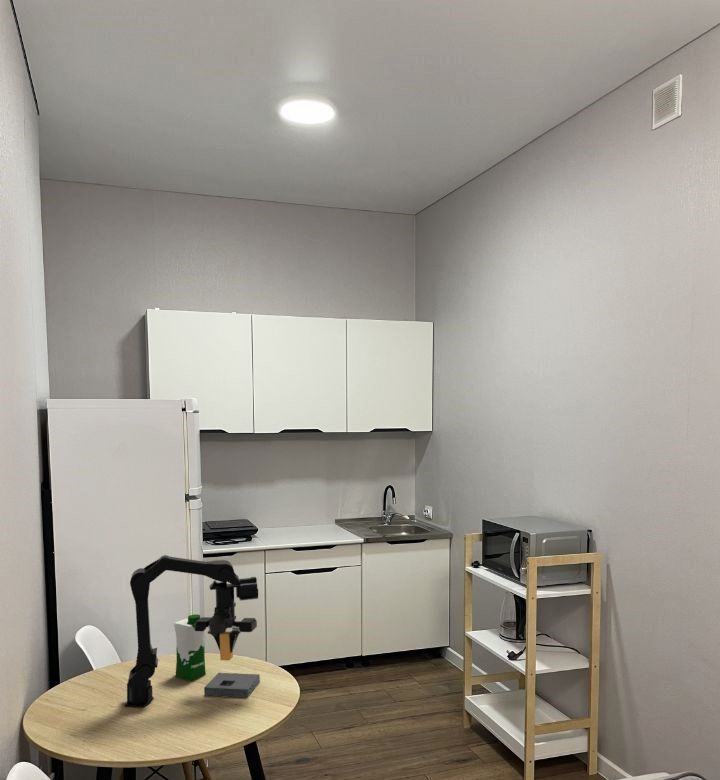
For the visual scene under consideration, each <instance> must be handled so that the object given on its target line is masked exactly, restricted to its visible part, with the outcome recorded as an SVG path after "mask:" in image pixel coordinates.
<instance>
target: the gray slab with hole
mask: <svg viewBox="0 0 720 780" xmlns="http://www.w3.org/2000/svg"><path fill="white" fill-rule="evenodd" d="M260 682H261V675H260V673H259V674H257V673H239V672H238V673H236V672H235V673H233V672H218V673H217V674H216V675H215V676H213V677H212V679H211V680H210V681H208V683H207V684H206V685H205V686H204V687H203V688H204V690H203V694H204V696H207V697H222V696H228V697H227V698H245V699H246V698H247V699H248V698H249V696H251V694H252V693H253V692H254V690H255V689H256V688H257V687H258V685H259V684H260Z"/></svg>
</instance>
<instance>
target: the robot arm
mask: <svg viewBox="0 0 720 780" xmlns="http://www.w3.org/2000/svg"><path fill="white" fill-rule="evenodd" d="M166 571H169V572H170V571H171V572H177V573H184V574H185V573H186V574H192V575H198V576H199V575H201V576H203V577H204V576H205V577H207V578H209V579H212V580H213V581H212V582H211V584H210V585H208V586H209V590H211V591H212V590H213V591H215V607H214V610H213V611H214V612H213V615H212V616H211V617H207V616H206V617H205V616H202V617H200V619H199V620H198V621H196V623H195V631H204V630H205V631H206V629H207V628H208V631H207V634H208V635H211V636H213V638H214V640H215V642H216V644H217V648H218V650H219V651H220V634H221V633H224V632H225V631H227V629H231V632H230V633H229V634H230V652H231V653H232V652H233V653H234V649H235V645H236V643H237V640H238V639H239V635H240V634H241V633H252V632H253V631H254V630H255V629H256V628H257V627H258V621H257V619H256V618H254V617H244V618H243V619H241V620H240V621H239V620H238V621H237V615H236V613H235V610H236V609H235V607H237V606H236V605H237V602H235V598H237V599H239V601H250V600H258V599H259V587H258V580H257V577H256V576H251V577H245V578H239V576H238V574H236V573H235V570H234V566H233V564H232V562H230V561H229V560H226V559H223V560H221V559H220V560H209V561H207V560H206V561H204V560H196V559H189V558H188V559H187V558H183V557H176V556H169V555H166V554H165V555H161V556H160V557H159V558H157V560H154V561H153V562H151V563H149V564H148V565H146V566H144V567H143V568H142V567H141V568H137V569H136V570H134V571H133V572H132V574H131V577H130V582H129V585H130V589H131V590H130V591H131V593H132V596H133V599H134V601H135V602H134V604H135V615H136V637H137V656H136V660H135V661H136V662H135V665H134V666H133V667H132V668H131V670H130V671H129V673H128V674H129V675H128V678H127V679H128V680H127V682H126V702H125V703H124V704H123V705H124V707H133V708H134V707H135V708H144V707H146V706H147V705H148V704H150V702H151V701H153V700H154V699H155V698H154V696H153V685H152V680H151V679H150V678H153V676H154V675H155V672H156V669H157V668H158V664H159V659H158V656H157V653H158V652H157V651H158V647H155V648H153V647H152V641H151V627H150V626H151V625H150V610H149V609H150V608H149V596H150V595H149V594H150V587H151V586H150V585H151V583H152V582H153V581H155V580H156V579H157V578H158V577H160V576H161V575H162V574H163V573H165V572H166ZM235 596H236V597H235ZM205 631H204V632H205Z"/></svg>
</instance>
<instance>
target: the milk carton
mask: <svg viewBox="0 0 720 780" xmlns="http://www.w3.org/2000/svg"><path fill="white" fill-rule="evenodd" d="M200 618H201V615H200V614H191V615H188V617H187V618H183V619H181V620H178V621H175V622H173V626H174V631H175V639H176V640H175V641H176V643H175V644H176V648H175V649H176V651H175V652H176V665H175V676H174V677H175V678H178V679H180V680H181V679H182V680H185V681H188V682H191V681H193V680H196V679H199V678H200V677H203V676H205V675H206V674H207V673H206V672H207V671H206V661H205V660H206V659H205V658H206V657H205V655H206V654H205V631H206V629H205V630H204V631H195V623H196V621H198V620H199V619H200Z"/></svg>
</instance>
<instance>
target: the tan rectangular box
mask: <svg viewBox="0 0 720 780" xmlns="http://www.w3.org/2000/svg"><path fill="white" fill-rule="evenodd" d="M231 631H232V630H231ZM231 631H230V630H229V631H228V630H226V631H225V632H224V633H221V634H220V650H219V656H220V657H219V659H220V661H231V660H232V658H233V657H234V651H233V652H232V653H231V652H230V634H229V633H230V632H231Z"/></svg>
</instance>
